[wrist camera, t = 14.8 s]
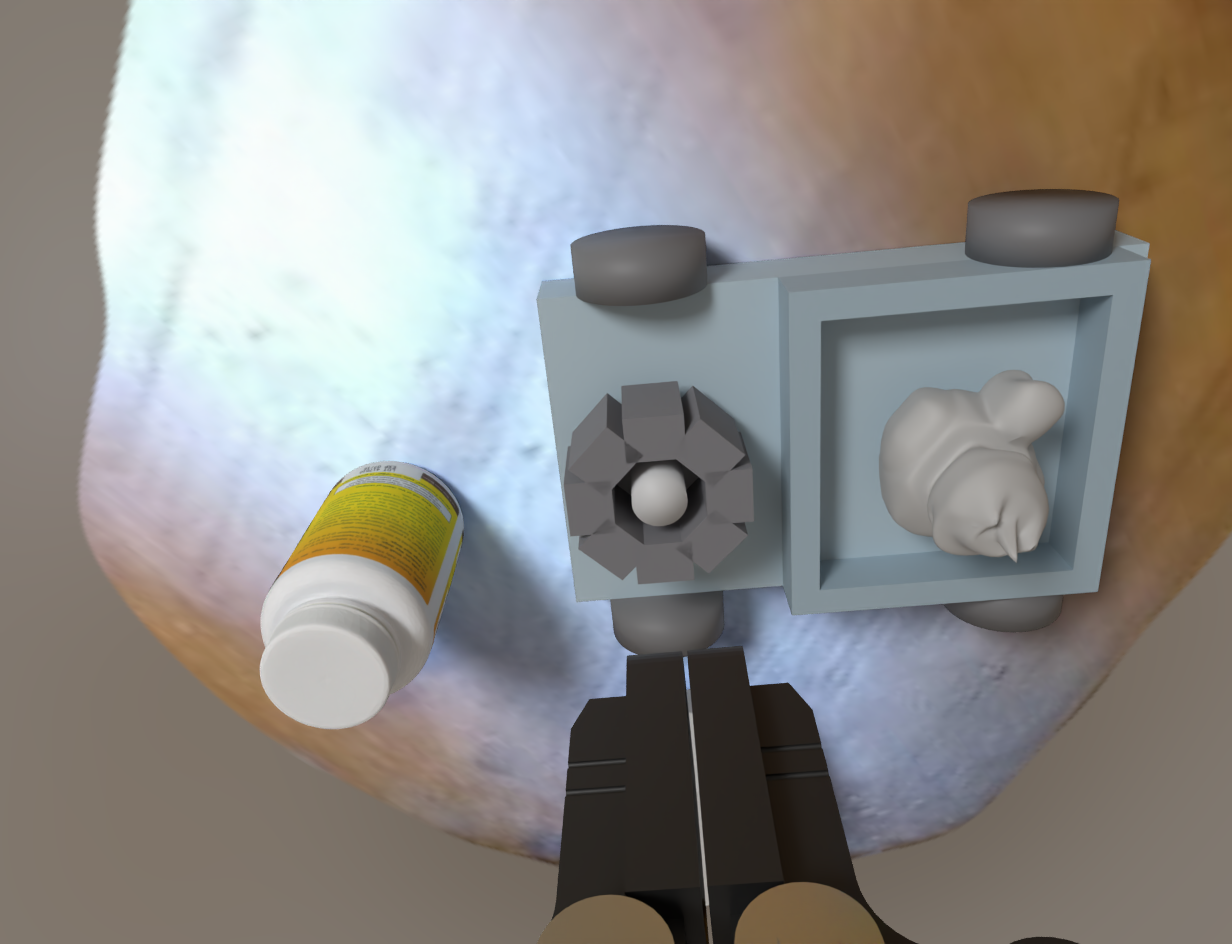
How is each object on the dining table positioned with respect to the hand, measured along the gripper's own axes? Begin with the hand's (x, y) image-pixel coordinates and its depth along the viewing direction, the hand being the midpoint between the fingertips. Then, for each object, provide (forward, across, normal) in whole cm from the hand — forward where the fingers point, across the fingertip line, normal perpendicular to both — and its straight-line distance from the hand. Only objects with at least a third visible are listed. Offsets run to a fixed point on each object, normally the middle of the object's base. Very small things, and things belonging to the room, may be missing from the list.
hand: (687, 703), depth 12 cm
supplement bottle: (+23, +11, +9) cm, 27 cm away
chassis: (+23, -6, +6) cm, 24 cm away
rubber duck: (+21, -10, +6) cm, 24 cm away
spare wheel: (+19, +1, +6) cm, 20 cm away
